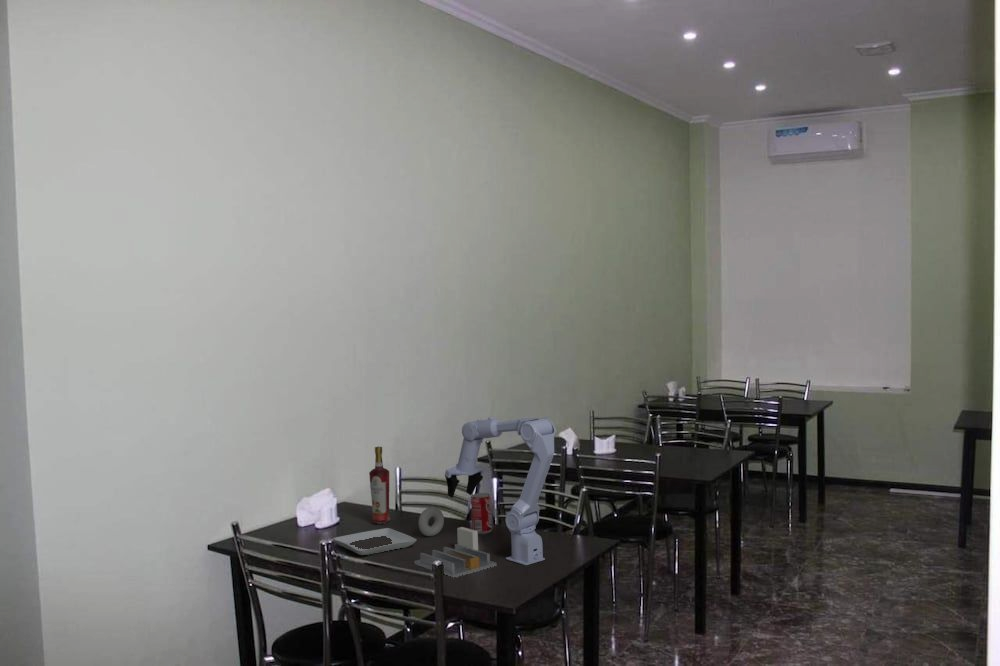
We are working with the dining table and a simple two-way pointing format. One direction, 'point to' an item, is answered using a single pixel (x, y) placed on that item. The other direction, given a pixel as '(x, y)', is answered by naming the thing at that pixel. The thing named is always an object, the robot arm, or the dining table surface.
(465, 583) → the dining table surface
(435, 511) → the donut
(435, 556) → the rack
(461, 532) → the panel
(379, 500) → the liquor
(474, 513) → the soda can
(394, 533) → the salad plate
